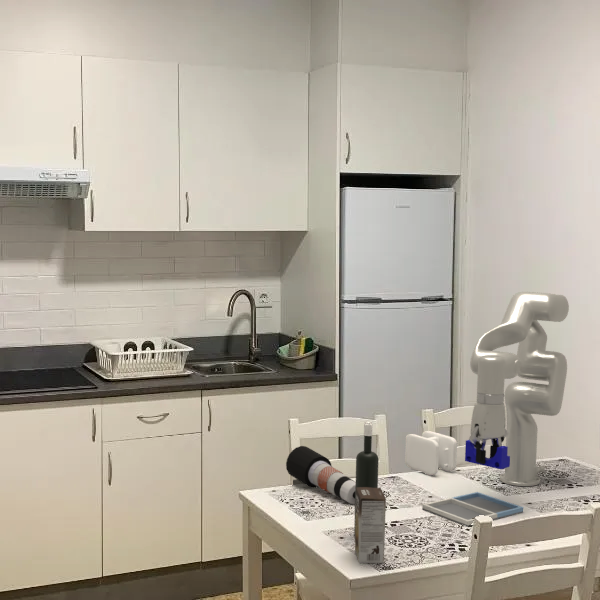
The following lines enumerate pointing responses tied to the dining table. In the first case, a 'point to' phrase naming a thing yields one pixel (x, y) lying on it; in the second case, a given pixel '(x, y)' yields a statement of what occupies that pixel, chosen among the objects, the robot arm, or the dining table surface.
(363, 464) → the wine bottle
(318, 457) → the telephoto camera lens
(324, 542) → the dining table surface
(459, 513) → the grey divided tray
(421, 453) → the organizer
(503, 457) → the blue u-shaped cradle
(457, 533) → the dining table surface
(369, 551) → the coffee box
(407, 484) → the dining table surface
